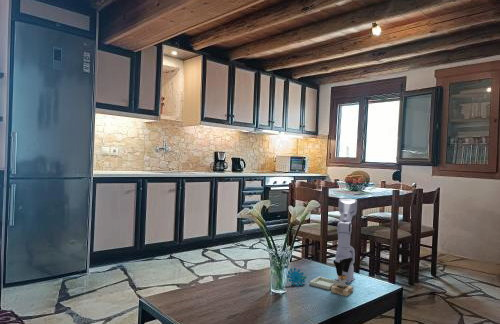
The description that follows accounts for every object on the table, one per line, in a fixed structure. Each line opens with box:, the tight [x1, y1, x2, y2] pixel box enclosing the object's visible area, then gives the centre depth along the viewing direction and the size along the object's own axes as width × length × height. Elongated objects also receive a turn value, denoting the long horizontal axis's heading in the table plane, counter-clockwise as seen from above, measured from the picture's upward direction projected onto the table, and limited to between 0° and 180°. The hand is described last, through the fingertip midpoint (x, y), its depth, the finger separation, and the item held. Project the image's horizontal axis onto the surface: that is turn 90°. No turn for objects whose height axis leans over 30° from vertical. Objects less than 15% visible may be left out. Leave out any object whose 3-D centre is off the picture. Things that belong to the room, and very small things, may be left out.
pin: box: [338, 275, 347, 289], centre depth 173 cm, size 4×4×8 cm
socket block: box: [330, 282, 354, 297], centre depth 173 cm, size 8×8×2 cm
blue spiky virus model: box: [286, 267, 308, 287], centre depth 183 cm, size 11×6×10 cm
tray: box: [309, 275, 339, 291], centre depth 182 cm, size 11×11×2 cm
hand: (342, 273), depth 173 cm, fingers open, 7 cm apart
